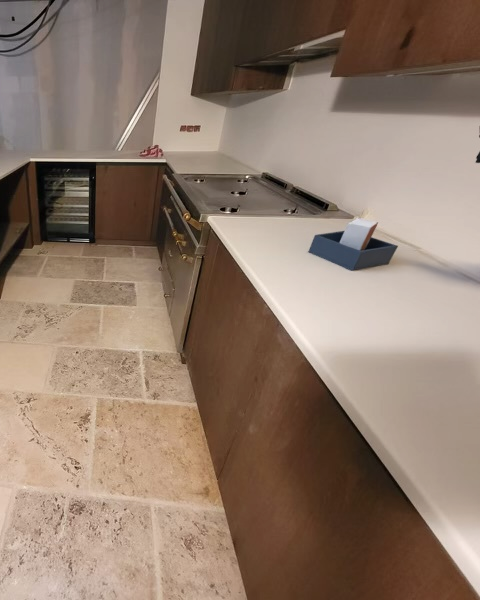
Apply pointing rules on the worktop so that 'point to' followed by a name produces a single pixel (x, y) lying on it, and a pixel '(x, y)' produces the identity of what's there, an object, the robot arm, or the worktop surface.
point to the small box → (358, 233)
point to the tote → (352, 251)
